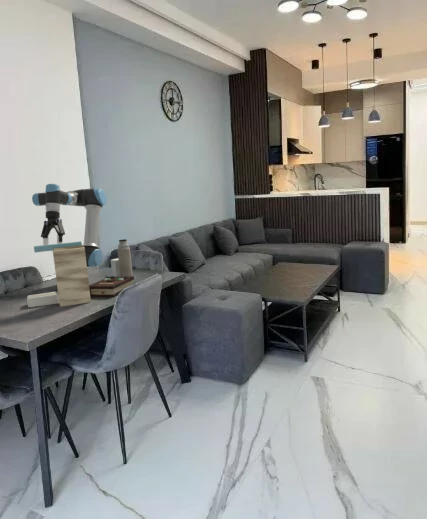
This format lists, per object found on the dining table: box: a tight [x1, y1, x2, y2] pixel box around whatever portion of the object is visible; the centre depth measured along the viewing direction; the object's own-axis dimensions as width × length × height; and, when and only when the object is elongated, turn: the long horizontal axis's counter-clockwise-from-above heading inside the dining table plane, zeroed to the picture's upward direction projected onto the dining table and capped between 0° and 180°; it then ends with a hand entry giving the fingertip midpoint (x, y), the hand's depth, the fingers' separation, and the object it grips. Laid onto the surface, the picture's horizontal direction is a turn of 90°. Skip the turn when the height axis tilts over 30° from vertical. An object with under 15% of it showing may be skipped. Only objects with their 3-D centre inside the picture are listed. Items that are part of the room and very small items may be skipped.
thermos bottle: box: [117, 238, 134, 281], centre depth 283 cm, size 8×8×28 cm
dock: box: [26, 291, 58, 309], centre depth 243 cm, size 8×15×5 cm, turn 111°
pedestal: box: [52, 244, 92, 307], centre depth 239 cm, size 10×16×31 cm, turn 111°
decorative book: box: [89, 275, 135, 298], centre depth 261 cm, size 19×8×30 cm
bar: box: [33, 240, 83, 253], centre depth 235 cm, size 3×24×3 cm, turn 111°
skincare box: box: [110, 257, 120, 277], centre depth 291 cm, size 8×6×15 cm
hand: (52, 248), depth 248 cm, fingers open, 13 cm apart
